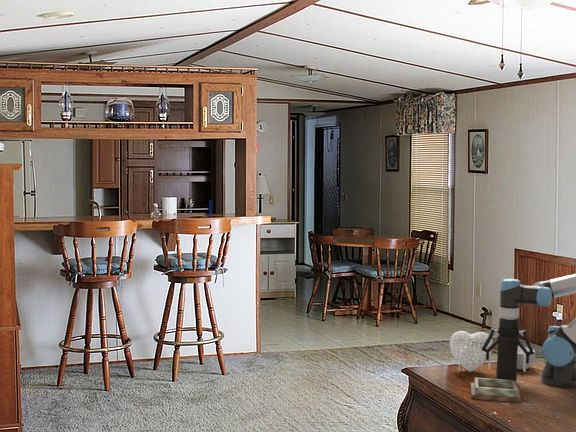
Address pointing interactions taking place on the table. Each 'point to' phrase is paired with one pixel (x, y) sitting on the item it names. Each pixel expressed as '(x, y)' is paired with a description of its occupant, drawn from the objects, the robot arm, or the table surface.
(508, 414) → the table surface
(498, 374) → the container
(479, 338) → the decorative heart
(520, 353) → the paper bowls
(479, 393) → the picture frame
